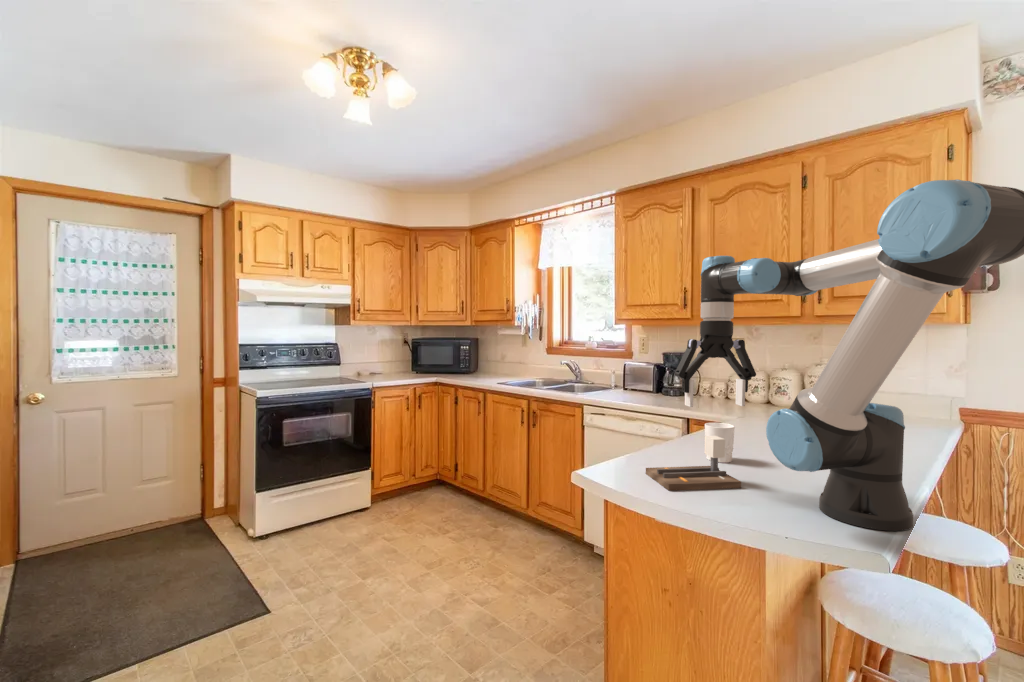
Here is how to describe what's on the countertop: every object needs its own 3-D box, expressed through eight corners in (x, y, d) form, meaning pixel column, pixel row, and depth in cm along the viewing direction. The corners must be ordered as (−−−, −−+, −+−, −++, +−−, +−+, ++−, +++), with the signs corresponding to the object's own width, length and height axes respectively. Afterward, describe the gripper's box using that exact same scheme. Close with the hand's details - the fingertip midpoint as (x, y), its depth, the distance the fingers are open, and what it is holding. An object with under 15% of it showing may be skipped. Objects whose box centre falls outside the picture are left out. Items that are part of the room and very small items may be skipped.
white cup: (728, 456, 140) (728, 422, 140) (738, 464, 132) (738, 428, 132) (700, 455, 141) (701, 422, 140) (708, 463, 133) (709, 427, 133)
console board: (741, 487, 112) (741, 477, 112) (668, 490, 110) (668, 479, 110) (711, 471, 125) (711, 462, 125) (645, 473, 123) (645, 464, 122)
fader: (724, 473, 116) (725, 439, 116) (712, 474, 116) (713, 439, 116) (715, 469, 120) (715, 435, 120) (704, 469, 120) (704, 435, 120)
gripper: (753, 320, 122) (751, 402, 123) (661, 319, 119) (660, 403, 120) (773, 320, 115) (771, 407, 116) (675, 319, 112) (674, 408, 112)
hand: (714, 405), depth 118 cm, fingers open, 13 cm apart
